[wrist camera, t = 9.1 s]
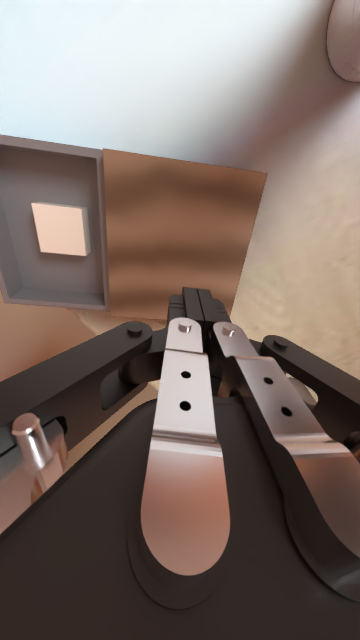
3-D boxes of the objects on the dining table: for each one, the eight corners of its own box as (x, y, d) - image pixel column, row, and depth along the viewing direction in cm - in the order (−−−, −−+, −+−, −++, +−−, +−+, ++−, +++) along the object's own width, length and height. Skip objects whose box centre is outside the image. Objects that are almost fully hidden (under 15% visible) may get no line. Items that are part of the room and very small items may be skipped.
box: (-19, 136, 26) (-50, 127, 23) (112, 155, 28) (103, 150, 24) (21, 291, 36) (4, 302, 32) (116, 298, 38) (110, 311, 34)
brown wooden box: (114, 156, 28) (102, 148, 23) (250, 176, 30) (267, 173, 25) (118, 298, 38) (110, 315, 33) (219, 307, 40) (227, 324, 35)
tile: (81, 208, 28) (87, 207, 30) (31, 202, 28) (40, 201, 30) (85, 256, 31) (91, 251, 33) (40, 251, 30) (49, 247, 33)
